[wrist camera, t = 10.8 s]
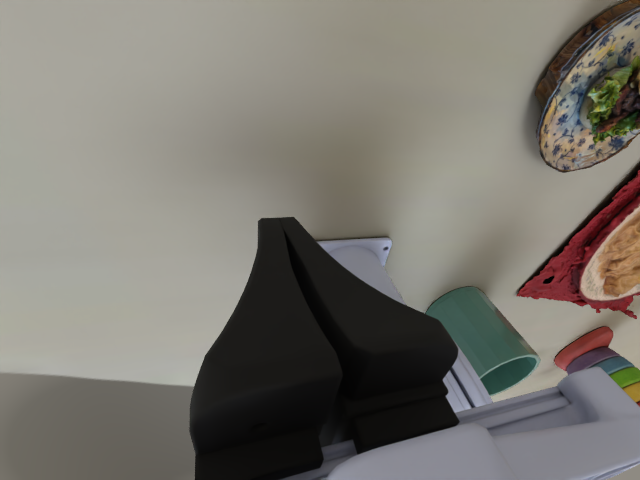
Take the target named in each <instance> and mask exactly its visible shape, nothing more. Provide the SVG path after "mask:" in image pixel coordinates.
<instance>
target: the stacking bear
mask: <svg viewBox="0 0 640 480" xmlns="http://www.w3.org/2000/svg"><path fill="white" fill-rule="evenodd" d="M612 338H613V331H612V330H611V329H610V328H609V327H601V328H598V329H596V330H594V331H592V332H590V333H588V334H586V335H584V336H583V337H581V338H579V339H578V340H576V341H574V342H573V343H571V344H570V345H568V346H567V347H566V348H564V349H563V350H562V351H561V352H560V353H559V354H558V355H557V356H556V358H555V364H556V365H557V366H558V367H559V368H561V369H563V370H565V371H567V373H568V375H570V374H572V373H574V372H577V371H581V370H585V369H589V368H593V367H601V368H602V369H603V370H604V371H605V372H606V373H607V374H608V375H609V376H610V377H611V378H612V379H613V380H614V381H615V382H616V383H617V384H618V385H619V386H620V387H621V388H622V389H623V390H624V391H625V392H626V393H627V394H628V396H629V397H630V398H631V399H632V400H633V401H634V402H635V403H636V404H637V405H638V406H639V407H640V370H639V369H638V368H636V367H635V366H634V365H633V364H632V363H630V362H629V361H628V360H626V359H625V358H624V357H621V356H620V355H619V354H618V353H616V352H615V351H613V350H611V349H610V348H608V346H609V344H610V342H611V340H612Z"/></svg>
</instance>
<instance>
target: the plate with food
mask: <svg viewBox="0 0 640 480" xmlns="http://www.w3.org/2000/svg"><path fill="white" fill-rule="evenodd" d="M639 166H640V165H639ZM612 199H614V201H613V202H612V203H611V204H609V206H607V207H606V208H604V209H603V210H601V211H600V212H599V213H598V215H596V216H595V217H594V218H593V219H592V220H591V221H590V222H589V224H588V225H587V226H586V227H585V228H583V229H582V230H581V231H580V232H579V233H577V234H575V236H573V237H572V239H571V240H570V241H569V244H568V245H567V246H565V247H564V251H563V252H562V253H560V254H559V255H558V256H557V257H552V259H551V260H550V261H549V264H547V265H546V266H545V268H544V269H543V270H542V271H540V275H539V276H534V277H533V279H532V280H530V281H529V282H527V283H526V284H525V287H523V288H522V289H521V290H519V293H518V294H517V296H522V297H532V298H534V299H539V298H547V299H554V300H561V301H564V300H565V301H567V302H568V301H570V302H573V303H576V304H578V305H580V306H584V305H586V304H589V305H590V306H591V307H592V308H593V309H596V313H600V312H601V311H600V310H599V309H607V308H609V309H611V310H613V311H617V310H620V311H622V312H623V313H625V314H626V315H628V316H629V317H633V318H634V319H637V316H636V315H633V314H634V312H632V311H629V309H628V310H626V309H627V307H628V305H629V304H630V303H631V302H632V301H633V296H634V295H637V296H638V295H640V170H639V171H638V174H637V175H636V177H635V178H633V180H631V181H629V182H628V184H627V185H625V186H624V187H623V188H622V189H621V190H620V191H619V192H618V193H617V194H616V195H615V196H614V197H613V198H612ZM551 276H555V277H554V279H553V281H552V282H551V283H549V284H543V281H544V280H545V279H547V278H550V277H551ZM629 306H630V305H629Z"/></svg>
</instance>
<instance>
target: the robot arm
mask: <svg viewBox="0 0 640 480" xmlns="http://www.w3.org/2000/svg"><path fill="white" fill-rule="evenodd" d="M391 245H392V241H391V239H390V238H388V237H385V238H368V239H351V240H334V241H317V242H316V241H315V240H314V239H313V238H312V236H311V235H310V234H309V233H308V232H307V231H306V230H305V229H304V228H303V227H302V225H301V224H300V223H299V222H298V221H297V220H296V219H295V218H294V217H283V218H261V219H260V220H259V221H258V249H257V254H256V258H255V261H254V264H253V268H252V271H251V274H250V277H249V279H248V282H247V285H246V287H245V289H244V292H243V294H242V296H241V298H240V300H239V302H238V304H237V306H236V308H235V310H234V312H233V314H232V315H231V317H230V319H229V321H228V322H227V324H226V326H225V327H224V329H223V331H222V332H221V334H220V335H219V337H218V338H217V340H216V341H215V342H214V344H213V345H212V347H211V348H210V350H209V351H208V353H207V354H206V355H205V358H204V361H203V363H202V366H201V369H200V371H199V374H198V377H197V380H196V383H195V386H194V390H193V394H192V398H191V404H190V435H191V439H192V442H193V446H194V450H195V453H196V457H195V458H196V459H195V480H606V479H608V478H610V477H613V476H616V475H618V474H620V473H622V472H624V471H626V470H628V469H630V468H632V467H634V466H636V465H638V464H640V407H639V406H638V405H637V404H636V403H635V402H634V401H633V400H632V399H631V398H630V397H629V396H628V394H627V393H626V392H625V391H624V390H623V389H622V388H621V387H620V386H619V385H618V384H617V383H616V382H615V381H614V380H613V379H612V378H611V377H610V376H609V375H608V374H607V373H606V372H605V371H604V370H603V369H602V368H601V367H593V368H589V369H585V370H581V371H577V372H574V373H572V374H570V375H568V376H566V377H565V378H564V379H563V380H561V381H560V382H559V383H558V385H557V386H556V387H552V388H548V389H544V390H540V391H536V392H533V393H529V394H525V395H521V396H517V397H513V398H510V399H506V400H502V401H498V402H494V403H493V401H492V399H491V397H490V396H489V394H488V392H487V390H486V388H485V387H484V385H483V383H482V382H481V380H480V378H479V377H478V375H477V373H476V372H475V370H474V369H473V367H472V366H471V364H470V362H469V361H468V359H467V358H466V356H465V355H464V354H463V352H462V351H461V349H460V348H459V347H458V345H457V344H456V343H455V341H454V340H453V339H452V338H451V336H450V334H449V333H448V331H447V330H446V329H445V327H444V326H443V324H442V323H441V322H440V321H439V320H438V319H436V318H434V317H431V316H429V315H427V314H424V313H422V312H420V311H417V310H415V309H412V308H410V307H408V306H407V305H406V303H405V302H404V300H403V298H402V297H401V295H400V293H399V292H398V290H397V289H396V287H395V285H394V284H393V282H392V280H391V279H390V277H389V275H388V274H387V272H386V270H385V269H384V266H385V263H386V260H387V257H388V254H389V251H390V248H391ZM384 247H385V248H384Z"/></svg>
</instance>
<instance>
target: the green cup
mask: <svg viewBox="0 0 640 480" xmlns="http://www.w3.org/2000/svg"><path fill="white" fill-rule="evenodd" d="M426 314H427V315H429V316H431V317H434V318H436V319H438V320H439V321H440V322H441V323H442V324H443V326H444V327H445V329H446V330H447V331H448V333H449V334H450V336H451V338H452V339H453V340H454V341H455V343H456V344H457V345H458V347H459V348H460V349H461V351H462V352H463V354H464V355H465V356H466V358H467V359H468V361H469V362H470V364H471V366H472V367H473V369H474V370H475V372H476V373H477V375H478V377H479V378H480V380H481V382H482V383H483V385H484V387H485V388H486V390H487V392H488V394H489V396H493V395H496V394H498V393H501V392H503V391H506V390H508V389H509V388H511V387H513V386H515V385H517V384H518V383H520V382H521V381H523V380H524V379H525V378H527V377H528V376H529V375H531V374H532V372H533V371H534V370H535V369H536V368H537V367H538V365H539V363H540V361H541V360H540V358H539V356H538V355H537V353H536V352H535V351H534V350H533V349H532V348H531V347H530V345H529V344H528V343H527V342H526V341H525V340H524V339H523V337H522V336H521V335H520V334H519V333H518V332H517V331H516V329H515V328H514V327H513V326H512V325H511V324H510V323H509V321H508V320H507V319H506V318H505V317H504V316H503V315H502V313H501V312H500V311H499V310H498V309H497V308H496V307H495V305H494V304H493V303H492V302H491V301H490V300H489V299H488V297H487V296H486V295H485V294H484V293H483V292H482V291H481V290H480V289H478V288H476V287H463V288H459V289H456V290H453V291H451V292H449V293H447V294H445V295H443V296H442V297H440V298H439V299H438V300H437V301H435V302H434V303H433V304H432V305H431V306H430V308H429V309H428V310H427V312H426Z"/></svg>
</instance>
